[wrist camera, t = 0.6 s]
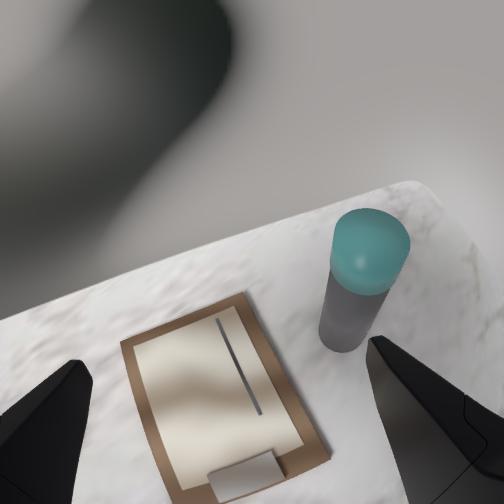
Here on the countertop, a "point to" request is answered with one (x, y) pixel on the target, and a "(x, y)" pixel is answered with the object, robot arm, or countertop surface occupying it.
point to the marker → (360, 275)
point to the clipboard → (218, 406)
